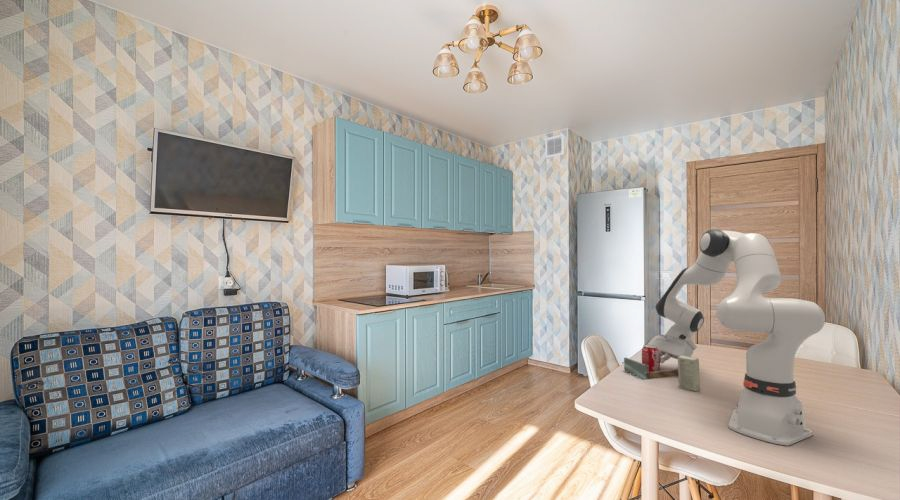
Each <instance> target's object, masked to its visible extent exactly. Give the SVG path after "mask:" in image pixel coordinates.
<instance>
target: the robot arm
mask: <svg viewBox="0 0 900 500" xmlns="http://www.w3.org/2000/svg"><path fill="white" fill-rule="evenodd" d="M699 250H700V253H699V254H698V256H697V259H696V260H695V262H694V264H693V265H692V266H690V267H685V268H684V269H682V270H680V272H679V273H678V275H677V276H676V277H675V278H674V280H673V281H672V282H671V283H670V286H669V287H668V288H667V289H666V291H665V292H664V294H663V295H662V296H661V298H659V299H658V301H656V304H655V311H656V313H657V315H658V316H660V317H663V318H665V319H668V320H669V321H671V322H673V323H674V324H673V325H671V327H669V329H668V330H667V331H666V332H665V334H661V333H660V334H658V335H656V336H654V337H653V338H652V339H651V340H650V341H649V342H648V343H647V345H655V346H658V349H659V352H660V364H665V361H668V360H670V359H671V358H673V359H675V360H678V357H679V356H681V355H684V356H689V357H692V356H693V354H694V351H695V350H696V349H697V345H696V344H695V342H693V340H692V336H693V335H694V334H695V333H696V332H698V331H699V330H700V329H701V328H702V326H703V325H704V322H705V317H704V316H705V315H704V313H703V312H702V311H701V310H700V309H698V308H696V307H693V306H691V305H689V304H687V303H684V302H683V301H681V300H678V299H677V296H678V294H679V293H680V291H682V288H684V286H685V285H698V286H712V285H713V286H714V285H716V284H718V283H720V282H721V281H722V280H723V279H724V277H725V276H726V273H727V272H728V270H729V267H730V265H731V263H732V262H734V268H735V272H736V286H735V289H734V290H733V292H732V293H731V294H730V295H728V296H727V297H725V298H723V299H722V300H721V301H720V302H719V303H718V305H717V308H716V317H717V319H718V321H719V322H720V324H721V325H722V326H724V328H726V329H730V330H734V331H740V332H744V333H745V332H748V333H763V334H764V333H765V334H768V336H767V338H766V339H765V340H763V341H762V342H759V343H756V344H755V343H754V344H753V345H751V346H749V347H748V349H747V350H746V352H745V360H746V362H745V364H746V365H745V366H746V367H745V368H746V370H745V371H746V373H745V374H744V377H743V382H742V383H743V388H741V392H740V397H739V400H738V403H736V406H737V409H734V410H733V411H732V414H731V416H730V419H729V422H728V425H727V426H728V428H729V429H731V430H732V431H735V432H737V433H740V434H742V435H745V436H747V437H750V438H754V439H756V440H757V439H758V440H760V441H763V442H767V443H771V444H776V445H781V446H790V445H792V444H795V443H798V442H800V441H803V440H805V439H807V438H811V437H812V436H814V434H813V430H811V429H809V428H808V427H806V423H805V412H804V404H803V402H802V401H800V399H798V398H797V396H796V395H797V383H796V381H795V380H794V371H795V370H794V367H795V366H794V365H795V356H796V354H797V351H798V350H799V347H801V345H802V344H803V343H804V342H805V341H806V340H807V339H809V338H810V337H811V336H813V335H815V334H818V333H819V332H820V331H821V330H822V329H823V328H824V326H825V322H826V316H825V313H824V311H823V309H822V308H821V307H820V306H819V305H818V304H817V303H816V302H814V301H809V300H804V299H799V298H793V297H792V298H788V297H787V298H786V297H766V296H764V294H766V293H769V292H772V291H773V290H775V289H777V288H778V287H779V286H780V284H781V282H782V275H781V272H780V267H779V264H778V261H777V257H776V254H775V251H774V249H773V247H772V246H771V242H770V241H769V239H767V237H765V236H764V235H763V234H761V233H755V232H750V233H744V232H740V231H734V230H733V231H732V230H723V229H722V230H721V229H714V228H713V229H708V230H707V231H705V232H704V233H703V234H702V235H701V237H700V240H699Z"/></svg>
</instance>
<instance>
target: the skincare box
mask: <svg viewBox="0 0 900 500" xmlns="http://www.w3.org/2000/svg"><path fill="white" fill-rule="evenodd" d="M677 368H678V374H679V376H678V387H679V388H681V389H684V390H689V391H693V392H698V391H700V389H701V379H700V376H701V375H700V359H699V357H694V356H691V357H689V356H684V355H681V356H679V357H678V359H677Z"/></svg>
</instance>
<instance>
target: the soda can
mask: <svg viewBox="0 0 900 500" xmlns="http://www.w3.org/2000/svg"><path fill="white" fill-rule="evenodd" d="M641 363H642V364H645V365H646V372H655V371H661V363H660V352H659V349H658V346H655V345H648V344H643V346H642V348H641Z"/></svg>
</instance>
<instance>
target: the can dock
mask: <svg viewBox="0 0 900 500" xmlns="http://www.w3.org/2000/svg"><path fill="white" fill-rule="evenodd" d="M623 366H624V367H623V369H624V370H625V371H624V370H623V371H624V372H626V371H627V372H626V373H628V372H630V373H632V374H631V375H633V374H634V376H635V375H636V376H635V377H637V376H638V377H637V378H640V379H643V380H652V379H660V378H671V377H672V378H673V377H679V374H678V369H669V370H668V369H667V370H660V371H655V372H646V365H645V364H642V362H641V361H640V362H639V361H637V360H634V359H632V358H628V357H624V358H623ZM630 373H629V374H630Z"/></svg>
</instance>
